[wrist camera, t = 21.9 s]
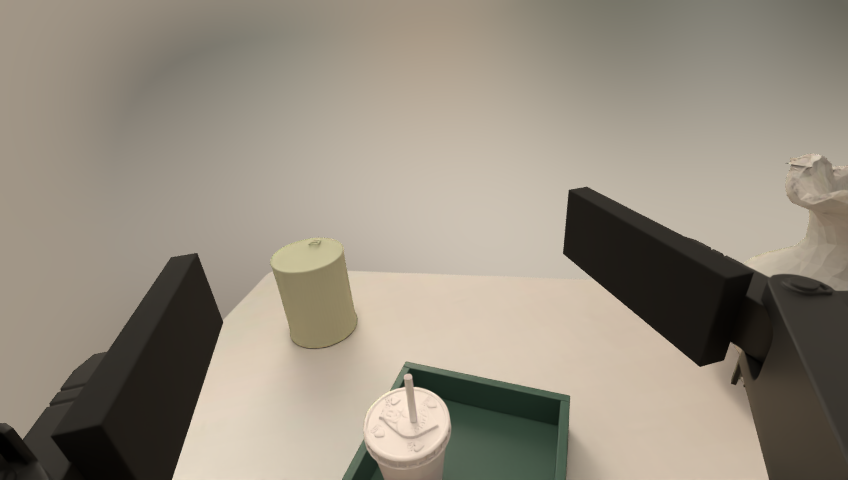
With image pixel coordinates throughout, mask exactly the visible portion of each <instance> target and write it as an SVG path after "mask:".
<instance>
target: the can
mask: <svg viewBox="0 0 848 480" xmlns="http://www.w3.org/2000/svg"><path fill="white" fill-rule="evenodd" d="M270 265H271V267H272V269H273V272H274V276H275V279H276V282H277V285H278V289H279V292H280V295H281V299H282V302H283V306H284V310H285V313H286V317H287V320H288V324H289V328H290V336H291V338H292V340H293V341H294V342H295V343H296V344H298V345H300V346H302V347H306V348H322V347H327V346H330V345H333V344H336V343H338V342H340V341H342V340H343V339H345V338H346V337H348V336H349V335H350V334H351V333H352V332H353V330H354V329H355V327H356V325H357V315H356V313H355V310H354V305H353V300H352V295H351V290H350V285H349V279H348V274H347V269H346V263H345V257H344V248H343V245H342V244H341V243H340V242H338V241H337V240H333V239H329V238H311V239H305V240H301V241H297V242H294V243H291V244H289V245H287V246H285V247H283V248H281V249H280V250H278V251H277V252H276V253H275V254H274V255H273V256H272V258H271V261H270Z"/></svg>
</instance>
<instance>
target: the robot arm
mask: <svg viewBox="0 0 848 480" xmlns="http://www.w3.org/2000/svg"><path fill="white" fill-rule="evenodd" d="M563 254H564V255H565V256H567V257H568V258H569V259H570V260H571V261H573V262H574V263H575V264H576V265H577V266H579V267H580V268H581V269H582V270H583V271H585V272H586V273H587V274H588V275H589V276H591V277H592V278H593V279H594V280H595V281H597V282H598V283H599V284H600V285H602V286H603V287H604V288H605V289H606V290H608V291H609V292H610V293H611V294H612V295H614V296H615V297H616V298H617V299H618V300H620V301H621V302H622V303H623V304H624V305H626V306H627V307H628V308H629V309H631V310H632V311H633V312H634V313H635V314H637V315H638V316H639V317H640V318H641V319H643V320H644V321H645V322H646V323H647V324H649V325H650V326H651V327H652V328H654V329H655V330H656V331H657V332H658V333H660V334H661V335H662V336H663V337H664V338H666V339H667V340H668V341H669V342H670V343H672V344H673V345H674V346H675V347H676V348H678V349H679V350H680V351H681V352H683V353H684V354H685V355H686V356H687V357H689V358H690V359H691V360H692V361H693V362H695V363H696V364H697V365H698V366H699V367H701V366H705V365H708V364H712V363H716V362H719V361H723V360H724V359H725V356H726V353H727V350H728V347H729V344H730V341H731V342H732V343H733V344H735V345H736V346H738V347H739V348H740V349H742V351H741V354H740V357H739V359H738V362H737V365H736V368H735V370H734V373H733V376H732V380H731V384H734V385H736V384H737V381H738V379H739V378H741V377H743V380H744V387H745V388H746V392H747V396H748V400H749V403H750V407H751V411H752V415H753V419H754V423H755V427H756V430H757V434H758V438H759V442H760V446H761V450H762V453H763V457H764V461H765V465H766V469H767V473H768V477H769V480H848V291H835V290H834V289H833V288H832V287H830V286H828V285H827V284H824V283H822V282H820V281H818V280H815V279H812V278H809V277H805V276H800V275H795V274H777V275H772V276H771V277H768V276H766V275H764V274H762V273H760V272H758V271H756V270H754V269H752V268H750V267H748V266H746V265H744V264H742V263H740V262H738V261H736V260H734V259H732V258H730V257H728V256H724V255H723V254H722V253H720V252H718V251H716V250H714V249H713V250H711V248H710V247H708V246H706V245H705V244H703V243H700V242H699V241H697V240H694V239H690V238H687V237H684V236H682V235H680V234H678V233H676V232H674V231H672V230H670V229H668V228H667V227H664V226H663V225H661V224H659V223H657V222H655V221H653V220H651V219H649V218H647V217H645V216H643V215H641V214H639V213H637V212H635V211H633V210H631V209H629V208H627V207H625V206H623V205H621V204H619V203H618V202H616V201H614V200H612V199H610V198H608V197H606V196H604V195H602V194H600V193H598V192H596V191H594V190H592V189H590V188H588V187H584V188H577V189H571V190H569V194H568V205H567V216H566V227H565V238H564V249H563ZM222 324H223V320H222V318H221V315H220V312H219V310H218V307H217V304H216V302H215V299H214V296H213V294H212V291H211V288H210V286H209V283H208V281H207V278H206V276H205V273H204V270H203V267H202V265H201V262H200V259H199V257H198V254H197V253H194V254H188V255H183V256H177V257H171V258H170V260H169V261H168V263H167V264H166V266H165V267H164V269H163V270H162V272H161V273H160V275H159V276H158V278H157V279H156V281H155V282H154V284H153V285H152V286H151V288H150V290H149V291H148V292H147V294H146V295H145V297H144V298H143V300H142V301H141V303H140V304H139V306H138V307H137V309H136V310H135V312H134V313H133V315H132V316H131V318H130V319H129V321H128V322H127V324H126V325H125V326H124V328H123V329H122V331H121V332H120V334H119V336H118V337H117V338H116V340H115V341H114V343H113V344H112V346H111V347H110V349H109V350H108V352H104V353H98V354H94V355H92V356H91V357H90V358H89V359H88V360H86V361H85V362H84V363H83V364H82V365H80V366H79V367H78V368H77V369H76V370H74V371H73V372H72V374H71V375H70V376H69V378H68V379H67V380H66V382H65V383H64V385H63V386H62V387H61V392H58V393H57V394H56V395H55V397H54V398H53V399H52V401H51V402H50V407H47V408H46V409H45V410H44V412H43V413H42V414H41V416H40V417H39V418H38V420H37V421H36V422H35V424H34V425H33V427H32V428H31V429H30V431H29V432H28V433H27V435H26V436H25V437H24V439H23V440H22V439H21V438H20V436H19V435H18V434H17V432H16V431H15V430H14V428H12V427H11V426H9V425H8V424H6V423H0V480H172V478H173V475H174V471H175V468H176V465H177V462H178V459H179V456H180V453H181V450H182V447H183V444H184V441H185V438H186V435H187V432H188V429H189V426H190V422H191V419H192V416H193V413H194V410H195V407H196V404H197V401H198V398H199V395H200V392H201V389H202V386H203V383H204V380H205V376H206V373H207V370H208V367H209V364H210V361H211V358H212V355H213V352H214V349H215V346H216V343H217V340H218V337H219V334H220V331H221V327H222Z"/></svg>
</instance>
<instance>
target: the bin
mask: <svg viewBox="0 0 848 480" xmlns="http://www.w3.org/2000/svg"><path fill="white" fill-rule="evenodd" d="M406 374H411V375H412V380H413V387H419V388H423V389H427V390H429V391H431V392H433V393H435V394H436V395H437V396H439V397H440V398H441V399H442V400H443V402H444V403H445V404H446V406H447V408H448V411H449V415H450V423H451V434H450V439H449V441H448V443H447V446H446V448H445V456H444V465H443V475H442V480H566V467H567V447H568V428H569V408H570V396H569V395H564V394H559V393H554V392H550V391H545V390H540V389H535V388H530V387H526V386H521V385H516V384H511V383H506V382H501V381H497V380H492V379H487V378H482V377H477V376H473V375H468V374H463V373H458V372H453V371H449V370H444V369H439V368H434V367H429V366H425V365H420V364H415V363H410V362H405V364H404V366H403V368H402V370H401V372H400V373H399V375H398V377H397V379H396V381H395V383H394V384H393V386H392V388H391V390H390V391H392V390H395V389H398V388H403V387H405V382H404V375H406ZM342 480H384V477H383V475H382V473H381V470H380V468H379V465H378V463H377V461H376V460H375V459H373V458H372V456H371V455H370V453H369V452H368V450H367V448H366V445H365V441H364V440H363V442H362V444H361V445H360V447H359V449H358V451H357V453H356V455H355V456H354V458H353V460H352V462H351V464H350V466H349V468H348V469H347V471H346V473H345V475H344V477H343V479H342Z"/></svg>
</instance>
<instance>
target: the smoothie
mask: <svg viewBox="0 0 848 480" xmlns="http://www.w3.org/2000/svg"><path fill="white" fill-rule="evenodd" d="M404 382H405V387H403V388H398V389H395V390H392V391H390V392H388V393H386V394H384V395H382V396H381V397H380V398H378V399H377V400H376V401H375V402H374V403H373V404H372V406H371V407H370V408H369V410H368V412H367V414H366V416H365V419H364V425H363V431H364V441H365V445H366V448H367V450H368V452H369V453H370V455H371V456H372V458H373V459H375V460H376V461H377V463H378V465H379V468H380V470H381V473H382V475H383V477H384V480H442V475H443V465H444V456H445V448H446V446H447V443H448V441H449V439H450V434H451V423H450V415H449V411H448V408H447V406H446V404H445V403H444V402H443V400H442V399H441V398H440V397H439V396H437V395H436V394H435V393H433V392H431V391H429V390H427V389H423V388H419V387H413V380H412V375H411V374H406V375H404Z"/></svg>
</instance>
